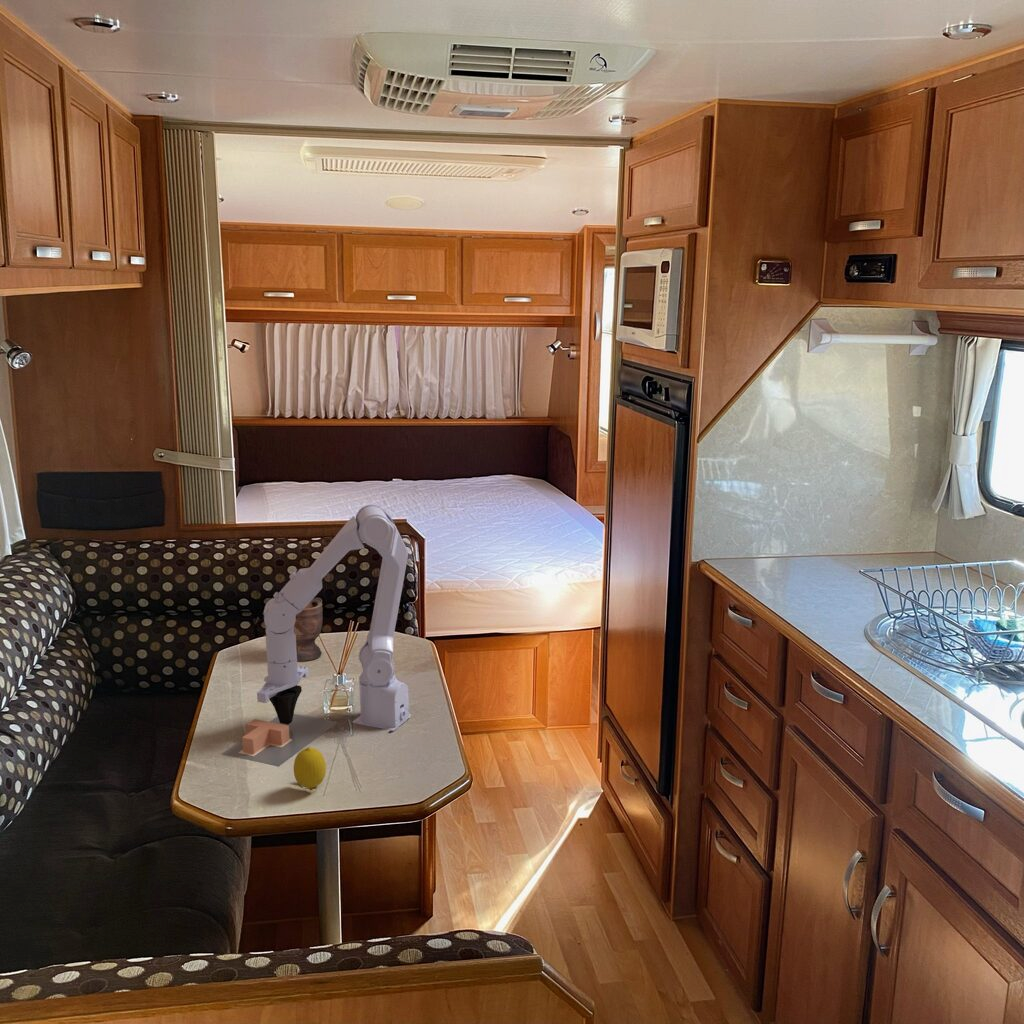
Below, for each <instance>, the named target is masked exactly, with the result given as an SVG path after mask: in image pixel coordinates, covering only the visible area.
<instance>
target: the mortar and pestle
mask: <svg viewBox="0 0 1024 1024" xmlns="http://www.w3.org/2000/svg"><path fill="white" fill-rule="evenodd" d="M323 611H324V610H323V602H322V601H321V600H318V599H314V598H313V599H312V600H311V601H310V603H309V604H308V605H307V606H306V607H305V608H304V609H303V610H302V612H300V613H298V614H297V615H296V621H295V624H294V626H293V627H294V634H295V636H296V652H297V663H298V662H305V661H311V660H316V659H318V658H320V657H321V656H322V650H321V647H319V645H317V644H316V640H317V638H318V637H319V636H320V635H321V633H322V632H321V631H322V628H323V620H324V618H323Z"/></svg>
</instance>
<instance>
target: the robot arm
mask: <svg viewBox="0 0 1024 1024" xmlns="http://www.w3.org/2000/svg"><path fill="white" fill-rule="evenodd" d="M397 528H398V527H397V526H396V524H395V521H393V518H392V517H391V516H390V515H389V514H388V513H387V512H386V511H385V510H384V509H383V508H382V507H381V506H379V505H377V504H367V505H364V506H363V507H360V508H359V510H358V511H357V513H356V516H354V515H353V516H352V517H351V518H349V519H348V521H347V522H346V523H345V524H344V525H343V527H342V528H341V529H340V530H339V531H338V532H337V533H336V535H335V536H334V537H333V539H332V540H331V541H330V542H329V543H328V545H327V546H326V547H325V548H324V550H323V551H322V552H321V553H320V555H318V557H317V558H316V559H315V561H314V562H313V563H312V564H311V566H310V567H305V568H299V569H298V571H296V572H295V571H292V572H291V573H290V574H289V579H290V580H289V581H288V582H287V583H286V584H285V585H284V586H283V587H282V588H281V590H280V591H279V592H278V591H276V592H274V594H273V598H271V599H270V600H268V601H267V602H266V604H265V606H264V610H263V621H264V624H265V648H266V649H265V650H266V663H267V664H266V665H267V675H266V676H264V679H263V680H264V682H265V683H264V685H262V688H261V689H260V690H259V691H257V692H256V699H257V701H256V702H258V703H264V704H267V703H269V702H270V703H271V704H272V706H273V709H274V711H275V713H276V715H277V716H278V719H279V722H280V723H282V724H287V725H288V724H290V723H291V722H292V720H293V715H294V714H295V709H296V704H297V701H298V700H299V697H300V694H301V693H302V691H303V689H302V688H303V687H302V686H301V685H299V683H300V682H301V680H302V679H303V678H308V677H309V667H308V666H303V665H299V666H298V662H297V652H296V636H295V634H294V627H293V626H294V624H295V621H296V615H297V614H298V613H300V612H302V610H303V609H304V608H305V607H306V606H307V605H308V604H309V603H310V601H311V600H312V599H313V600H314V598H316V596H317V595H318V594H319V593H320V592H321V590H322V589H323V578H325V576H327V574H328V573H329V572H330V571H332V569H334V567H335V566H336V565H337V564H338V563H339V562H340V561H341V560H342V559H343V558H344V557H345V556H346V555H347V554H348V553H349V552H350V551H357V550H362V549H365V546H364V543H365V544H366V545H368V546H369V547H371V548H373V549H374V550H376V552H378V554H379V555H380V556H381V557H382V559H381V565H380V571H379V577H378V584H377V589H376V593H375V599H374V606H373V611H372V617H371V622H370V626H369V627H370V628H369V631H368V633H367V636H366V639H365V643H364V644H363V646H362V647H361V648H360V649H359V652H358V657H359V658H358V659H359V663H360V664H361V667H362V668H361V669H362V673H361V674H360V676H359V678H358V679H359V682H358V683H359V703H360V704H359V708H360V709H359V710H360V715H359V716H358V717H356V718H355V719H354V720H352V723H353V724H359V725H363V726H368V727H373V728H380V729H384V730H389V732H395V731H396V730H397V729H398V728H400V727H401V725H402V724H404V723H405V722H406V721H407V720H409V718H411V717H412V714H411V713H410V700H409V699H410V693H409V687H408V685H407V684H406V683H405V682H402V681H400V680H398V679H397V678H396V675H395V672H396V668H395V663H394V660H393V657H394V636H395V630H396V624H397V621H398V613H399V607H400V602H401V598H402V597H401V596H402V592H403V584H404V580H405V575H406V568H407V563H408V558H409V551H408V548H407V547H406V545H405V543H404V541H403V539H402V536H401V534H400V532H399V530H398V529H397ZM277 716H276V717H277Z"/></svg>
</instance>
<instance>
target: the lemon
mask: <svg viewBox="0 0 1024 1024" xmlns="http://www.w3.org/2000/svg"><path fill="white" fill-rule="evenodd" d="M293 763H294V764H293V775H294V778H295V781H296V782H297V784H298V785H300V786H301V787H303V788H306V789H308V790H311V791H312V790H313V789H314V788H316V787H317V786H319V785H320V784H321V783H322V782H323V781H324V779H325V777H326V772H327V765H326V764H327V763H326V760H325V758H324V755H323V753H322V752H321V751H320V750H318V749H316V748H314V747H310V746H306V747H305V748H303V749H302V750H300V751H299V752H298V753H297V754H296V756H295V759H294V762H293Z"/></svg>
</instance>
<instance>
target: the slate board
mask: <svg viewBox="0 0 1024 1024" xmlns="http://www.w3.org/2000/svg"><path fill="white" fill-rule="evenodd" d="M269 722H272V723H277V724H282V723H280V722H279V719H278V716H276V717H273V718H272V719H271V720H269ZM338 723H339V722H338V721H335V720H328V719H323V718H319V717H314V716H308V715H302V714H297V713H294V715H293V720H292V722H291V723H290V724H288V725H287V724H282V725H287V726H289V738H290V740H289V741H288V742H286V743H285V744H284V745H277V744H272V743H269V744H268V745H267V746H265V747H264V748H262V749H261V750H259V751H258V752H257V753H255V754H250V753H245V752H243V745H242V739H241V740H239V742H237V743H235V744H234V745H232V746H231V747H229V748H228V749H226V750H225V751H223V752H222V753H221V755H225V756H228V757H233V758H239V759H243V760H248V761H252V762H258V763H263V764H266V765H270V766H276V767H280V766H282V765H284V763H286V762H287V761H288V760H290V759H291V758H293V756H295V755H297V754H298V753H299V752H300V751H302V750H303V749H305V748H307V747H308V745H310V744H311V743H312V742H314V741H316V739H318V738H319V737H321V736H322V735H323V734H324V733H326V732H327V731H329V730H330V729H331V728H333V727H334V726H336V725H337V724H338Z"/></svg>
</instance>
